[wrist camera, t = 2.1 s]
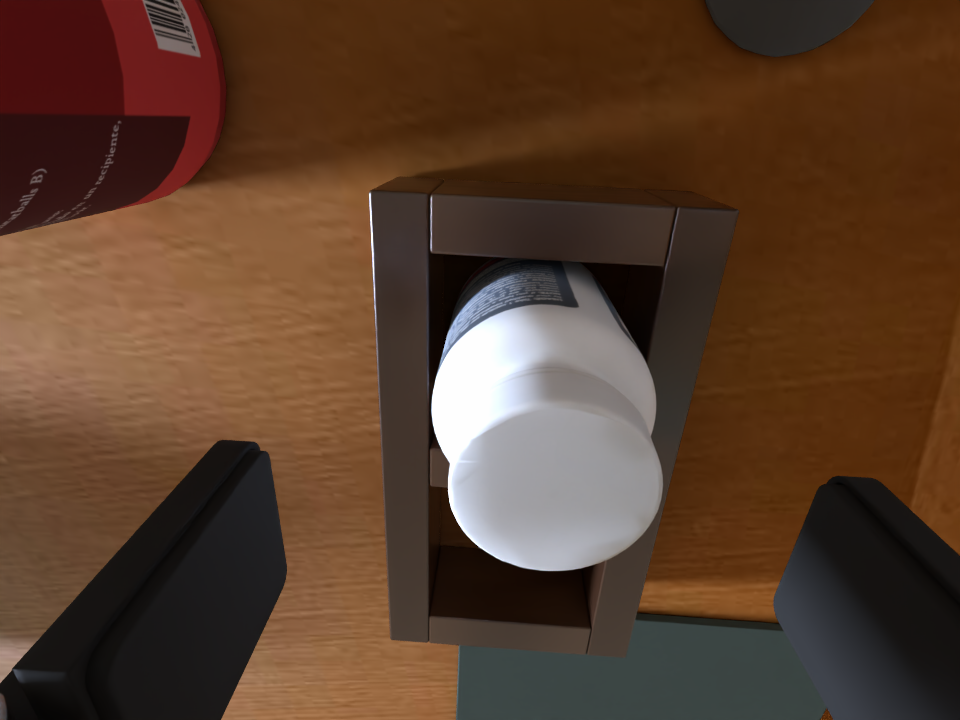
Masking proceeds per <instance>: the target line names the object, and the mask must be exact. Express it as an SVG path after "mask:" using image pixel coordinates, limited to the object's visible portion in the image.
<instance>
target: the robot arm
mask: <svg viewBox="0 0 960 720" xmlns="http://www.w3.org/2000/svg"><path fill="white" fill-rule="evenodd" d="M286 574H287V564H286V558H285V551H284V545H283V539H282V532H281V526H280V519H279V513H278V507H277V500H276V494H275V488H274V481H273V475H272V469H271V462H270V457H269V454H268V453H267V452H266V451H260V447H259V446H258V444H257V443H255V442H249V441H232V440H220V441H218V442H217V443H216V444H214V445H213V447H212V448H211V449H210V450H209V451H208V452H207V453H206V454H205V455H204V457H203V458H202V459H201V460H200V461H199V462H198V463H197V464H196V465H195V467H194V468H193V469H192V470H191V471H190V472H189V473H188V474H187V475H186V476H185V478H184V479H183V480H182V481H181V482H180V483H179V484H178V485H177V486H176V488H175V489H174V490H173V491H172V492H171V493H170V494H169V495H168V496H167V498H166V499H165V500H164V501H163V502H162V503H161V504H160V505H159V506H158V508H157V509H156V510H155V511H154V512H153V513H152V514H151V515H150V516H149V518H148V519H147V520H146V521H145V522H144V523H143V524H142V525H141V526H140V528H139V529H138V530H137V531H136V532H135V533H134V534H133V535H132V536H131V538H130V539H129V540H128V541H127V542H126V543H125V544H124V545H123V546H122V547H121V549H120V550H119V551H118V552H117V553H116V554H115V555H114V556H113V557H112V559H111V560H110V561H109V562H108V563H107V564H106V565H105V566H104V567H103V569H102V570H101V571H100V572H99V573H98V574H97V575H96V576H95V577H94V579H93V580H92V581H91V582H90V583H89V584H88V585H87V586H86V587H85V589H84V590H83V591H82V592H81V593H80V594H79V595H78V596H77V597H76V599H75V600H74V601H73V602H72V603H71V604H70V605H69V606H68V607H67V608H66V610H65V611H64V612H63V613H62V614H61V615H60V616H59V617H58V618H57V620H56V621H55V622H54V623H53V624H52V625H51V626H50V627H49V628H48V630H47V631H46V632H45V633H44V634H43V635H42V636H41V637H40V638H39V640H38V641H37V642H36V643H35V644H34V645H33V646H32V647H31V648H30V650H29V651H28V652H27V653H26V654H25V655H24V656H23V657H22V658H21V660H20V661H19V662H18V663H17V664H16V665H15V666H14V667H13V668H12V671H11V672H10V673H9V674H8V675H7V677H6V678H5V679H4V680H3V681H2V682H1V683H0V720H221V718H222V716H223V714H224V712H225V710H226V708H227V706H228V704H229V701H230V699H231V697H232V695H233V693H234V691H235V689H236V687H237V684H238V682H239V680H240V678H241V676H242V674H243V672H244V670H245V668H246V665H247V663H248V661H249V659H250V657H251V655H252V653H253V651H254V648H255V646H256V644H257V642H258V640H259V638H260V636H261V634H262V632H263V629H264V627H265V625H266V623H267V621H268V619H269V617H270V615H271V612H272V610H273V608H274V606H275V604H276V602H277V600H278V598H279V595H280V593H281V591H282V589H283V586H284V583H285V580H286ZM774 611H775V614H776V617H777V619H778V622H779V623H780V625H781V627H782V629H783V630H784V632H785V634H786V636H787V638H788V639H789V641H790V643H791V645H792V647H793V648H794V650H795V652H796V654H797V655H798V657H799V659H800V661H801V663H802V664H803V666H804V668H805V670H806V671H807V673H808V675H809V677H810V679H811V680H812V682H813V684H814V686H815V687H816V689H817V691H818V693H819V695H820V696H821V698H822V700H823V702H824V704H825V705H826V707H827V709H828V711H829V712H830V714H831V716H832V718H833V720H960V556H959V555H958V554H957V553H956V552H955V551H954V550H953V549H952V548H951V547H950V546H949V545H948V544H946V543H945V542H944V541H943V540H942V539H941V538H940V537H939V536H938V535H937V534H936V533H935V532H934V531H933V530H931V529H930V528H929V527H928V526H927V525H926V524H925V523H924V522H923V521H922V520H921V519H920V518H919V517H918V516H917V515H915V514H914V513H913V512H912V511H911V510H910V509H909V508H908V507H907V506H906V505H905V504H904V503H903V502H902V501H900V500H899V499H898V498H897V497H896V496H895V495H894V494H893V493H892V492H891V491H890V490H889V489H888V488H887V487H885V486H884V485H883V484H882V483H881V482H879V481H878V480H876V479H873V478H864V477H847V476H836V477H832V478H831V479H830V480H829V481H828V482H827V484H824V485H821V486H820V487H819V488H818V490H817V492H816V495H815V497H814V499H813V502H812V504H811V507H810V509H809V512H808V514H807V517H806V519H805V522H804V524H803V527H802V529H801V532H800V534H799V537H798V539H797V541H796V544H795V546H794V549H793V551H792V554H791V556H790V559H789V561H788V564H787V566H786V569H785V571H784V574H783V576H782V579H781V581H780V583H779V586H778V588H777V591H776V593H775V596H774Z"/></svg>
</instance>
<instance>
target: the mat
mask: <svg viewBox="0 0 960 720" xmlns="http://www.w3.org/2000/svg"><path fill="white" fill-rule="evenodd" d="M826 708H827V707H826V705H825V704H824V702H823V700H822V698H821V696H820V695H819V693H818V691H817V689H816V687H815V686H814V684H813V682H812V680H811V679H810V677H809V675H808V673H807V671H806V670H805V668H804V666H803V664H802V663H801V661H800V659H799V657H798V655H797V654H796V652H795V650H794V648H793V647H792V645H791V643H790V641H789V639H788V638H787V636H786V634H785V632H784V630H783V629H782V627H781V625H780V624H775V623H762V622H748V621H735V620H721V619H708V618H694V617H681V616H667V615H654V614H640V613H637V614H636V618H635V622H634V626H633V630H632V634H631V638H630V642H629V646H628V650H627V654H626V657H625V658H621V657H608V656H594V655H587V653H586V654H585V655H581V654H568V653H555V652H542V651H529V650H516V649H503V648H490V647H476V646H463V645H459V660H458V685H457V711H456V720H820V719H821V717H822V715H823V714H824V712H825V710H826Z"/></svg>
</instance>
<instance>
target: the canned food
mask: <svg viewBox="0 0 960 720" xmlns="http://www.w3.org/2000/svg"><path fill="white" fill-rule="evenodd" d="M225 112H226V82H225V74H224V67H223V60H222V56H221V53H220V50H219V47H218V43H217V40H216V37H215V33H214V30H213V28H212V26H211V24H210V22H209V19H208V17H207V15H206V13H205V11H204V9H203V7H202V5H201V3H200V0H0V236H2V235H6V234H11V233H15V232H20V231H24V230H28V229H33V228H37V227H42V226H46V225H50V224H55V223H59V222H63V221H68V220H72V219H77V218H81V217H85V216H90V215H94V214H99V213H103V212H107V211H112V210H116V209H120V208H125V207H129V206H134V205H138V204H142V203H147V202H150V201H153V200H156V199H159V198H162V197H164V196H167V195H170V194H171V193H173V192H174V191H176V190H177V189H179V188H180V187H182V186H183V185H185V184H186V183H187V182H188V181H189V180H190V179H191V178H192V177H193V176H194V175H195V174H196V173H197V172H198V171H199V169H200V168H201V167H202V166H203V165H204V164H205V163H206V161H207V160H208V159H209V158H210V156H211V154H212V152H213V150H214V148H215V146H216V144H217V142H218V140H219V138H220V135H221V131H222V126H223V122H224V118H225Z"/></svg>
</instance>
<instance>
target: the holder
mask: <svg viewBox="0 0 960 720" xmlns="http://www.w3.org/2000/svg"><path fill="white" fill-rule="evenodd" d="M369 203H370V224H371V245H372V266H373V287H374V308H375V329H376V350H377V371H378V392H379V413H380V434H381V455H382V476H383V496H384V517H385V538H386V559H387V580H388V601H389V622H390V639H391V640H400V641H413V642H426V643H427V642H428V641H429V642H430V643H437V644H450V645H463V646H476V647H490V648H503V649H516V650H529V651H542V652H555V653H568V654H581V655H585V654H586V653H587V655H594V656H608V657H621V658H625V657H626V654H627V650H628V646H629V642H630V638H631V634H632V630H633V626H634V622H635V618H636V614H637V610H638V607H639V603H640V599H641V595H642V591H643V587H644V583H645V579H646V575H647V571H648V567H649V563H650V559H651V556H652V552H653V548H654V544H655V540H656V536H657V532H658V528H659V524H660V520H661V516H662V512H663V508H664V505H665V501H666V497H667V493H668V489H669V485H670V481H671V477H672V473H673V469H674V465H675V461H676V457H677V454H678V450H679V446H680V442H681V438H682V434H683V430H684V426H685V422H686V418H687V414H688V410H689V406H690V403H691V399H692V395H693V391H694V387H695V383H696V379H697V375H698V371H699V367H700V363H701V359H702V355H703V352H704V348H705V344H706V340H707V336H708V332H709V328H710V324H711V320H712V316H713V312H714V308H715V304H716V301H717V297H718V293H719V289H720V285H721V281H722V277H723V273H724V269H725V265H726V261H727V257H728V253H729V250H730V246H731V242H732V238H733V234H734V230H735V226H736V222H737V218H738V214H739V210H738V209H735V208H733V207H730V206H728V205H725V204H722V203H720V202H717V201H714V200H712V199H709V198H706V197H704V196H701V195H699V194H696V193H693V192H688V191H669V190H649V189H646V190H644V191H643V190H641V189H628V188H609V187H590V186H570V185H551V184H531V183H512V182H493V181H473V180H454V179H447V180H445V181H444V180H443V179H435V178H416V177H397V178H395V179H393V180H391V181H389V182H387V183H385V184H383V185H381V186H378V187H376V188H374V189H372V190H370V192H369ZM444 254H447V255H465V256H483V257H501V258H519V259H537V260H555V261H573V262H591V263H609V264H627V265H630V270H629V275H628V281H627V287H626V293H625V298H624V304H623V310H622V316H621V320H622V321H623V323H624V325H625V326H626V328H627V330H628V332H629V333H630V335H631V337H632V339H633V340H634V342H635V343H636V345H637V347H638V349H639V350H640V352H641V353H642V355H643V357H644V359H645V361H646V364H647V366H648V368H649V371H650V374H651V376H652V379H653V383H654V387H655V393H656V416H655V422H654V427H653V431H652V434H651V439H652V442H653V444H654V447H655V450H656V452H657V455H658V458H659V461H660V464H661V469H662V474H663V489H662V497H661V502H660V505H659V508H658V511H657V513H656V515H655V517H654V519H653V521H652V522H651V524H650V525H649V527H648V528H647V529H646V531H645V532H644V533H643V535H642V536H641V537H640V538H638V539H637V540H636V541H635V542H634V543H633V544H632V545H631V546H630V547H628V548H627V549H625V550H624V551H622V552H621V553H619V554H618V555H616V556H614V557H612V558H610V559H608V560H605V561H603V562H601V563H598V564H595V565H591V566H588V567H584V568H580V569H574V570H564V571H541V570H534V569H528V568H523V567H519V566H516V565H513V564H511V563H507V562H505V561H501V560H500V559H497V558H496V557H494V556H492V555H491V554H489V553H487V552H486V551H484V550H483V549H474V548H460V547H446V546H441V547H440V512H441V487H445V488H448V477H449V469H450V462H449V460H448V459H447V457H446V456H445V454H444V453H443V451H442V449H441V447H440V444H439V442H438V439H437V436H436V433H435V429H434V425H433V418H432V398H433V390H434V386H435V381H436V376H437V372H438V368H439V365H440V361H441V357H442V353H443V288H444Z"/></svg>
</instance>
